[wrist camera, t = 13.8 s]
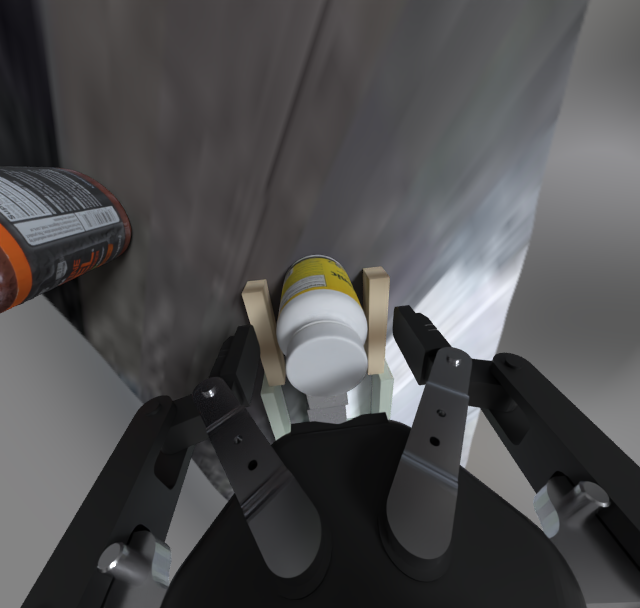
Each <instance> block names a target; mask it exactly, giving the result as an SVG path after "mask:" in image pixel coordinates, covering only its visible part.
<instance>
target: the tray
mask: <svg viewBox="0 0 640 608" xmlns="http://www.w3.org/2000/svg"><path fill="white" fill-rule="evenodd" d="M393 383H394V378H393V376H392V373H391V371H390V369H389V367H388V364H387V362H386V360H385V362H384V373H382V374H373V375H372V400H371V414H373V413H380V412H386V415H387V418H388V420H390V414H391V404H392V393H393ZM261 397H262V400H263V403H264V406H265V409H266V412H267V415H268V418H269V421H270V424H271V427H272V430H273V433H274V436H275V439H276V440H277V439H279V438H280V437H282V436H283V435H285V434H287V433H289V432H291V422H290V418H289V415H288V411H287V407H286V403H285V399H284V395H283V391H282V388H281V385H277V386H269V384H268V381H267V378H266V374H265V373H264V378H263V384H262V389H261ZM351 419H353V418H351ZM351 419H347V421H348V420H351Z"/></svg>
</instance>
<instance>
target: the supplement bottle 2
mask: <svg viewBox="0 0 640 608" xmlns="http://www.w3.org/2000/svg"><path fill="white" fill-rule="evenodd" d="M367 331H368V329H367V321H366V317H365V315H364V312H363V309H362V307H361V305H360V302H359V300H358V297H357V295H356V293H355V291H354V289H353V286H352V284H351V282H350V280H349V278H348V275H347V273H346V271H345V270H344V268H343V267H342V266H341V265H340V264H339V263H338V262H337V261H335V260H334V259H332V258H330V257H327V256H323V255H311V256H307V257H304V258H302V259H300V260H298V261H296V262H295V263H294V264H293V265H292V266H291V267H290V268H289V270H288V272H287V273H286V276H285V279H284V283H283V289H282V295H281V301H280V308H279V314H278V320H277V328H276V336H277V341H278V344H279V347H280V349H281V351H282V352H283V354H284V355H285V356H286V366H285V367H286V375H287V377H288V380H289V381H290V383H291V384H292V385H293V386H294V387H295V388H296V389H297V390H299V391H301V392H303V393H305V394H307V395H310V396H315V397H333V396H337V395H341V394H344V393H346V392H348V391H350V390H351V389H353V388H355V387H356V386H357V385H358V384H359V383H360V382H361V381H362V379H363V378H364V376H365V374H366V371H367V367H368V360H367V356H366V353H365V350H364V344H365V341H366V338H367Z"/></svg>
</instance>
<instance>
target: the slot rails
mask: <svg viewBox="0 0 640 608" xmlns="http://www.w3.org/2000/svg"><path fill="white" fill-rule="evenodd" d="M389 282H390V277H389V276H388V274H387V273H386V272H385V271H384V269H383V268H382V267H372V268H363V312H364V315H365V317H366V321H367V329H368V331H367V338H366V341H365V344H364V350H365V353H366V356H367V360H368V367H367V373H368V375H373V374H382V373H384V362H385V346H386V330H387V314H388V298H389ZM242 297H243V300H244V304H245V307H246V310H247V314H248V317H249V320H250V324H251V325H253V327H254V329H255V332H256V335H257V339H258V342H259V345H260V352H261V354H260V357H261V361H262V364H263V367H264V371H265V374H266V378H267V381H268V384H269V386H277V385H285V377H286V367H285V366H286V364H285V360H284V356H283V352H282V351H281V349H280V347H279V344H278V341H277V336H276V328H277V325H276V321H275V316H274V312H273V308H272V303H271V299H270V295H269V290H268V286H267V282H266V279H265V280H256V281H248V282H247V284H246V286H245V288H244V290H243V292H242Z"/></svg>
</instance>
